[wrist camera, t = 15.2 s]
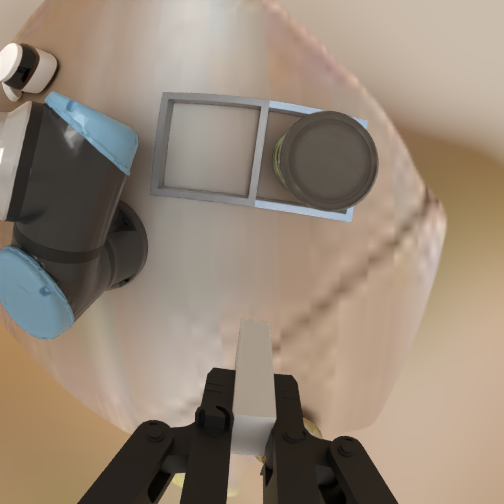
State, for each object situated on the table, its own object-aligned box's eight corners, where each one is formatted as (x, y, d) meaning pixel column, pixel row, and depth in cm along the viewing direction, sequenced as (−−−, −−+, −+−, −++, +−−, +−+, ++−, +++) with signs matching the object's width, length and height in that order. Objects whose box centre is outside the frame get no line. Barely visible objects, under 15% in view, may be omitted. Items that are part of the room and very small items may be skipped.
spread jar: (67, 65, 35) (28, 50, 24) (35, 116, 37) (-7, 114, 26) (40, 44, 32) (4, 30, 21) (11, 91, 35) (-28, 86, 24)
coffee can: (267, 189, 42) (272, 203, 28) (277, 120, 38) (288, 101, 25) (335, 201, 42) (369, 220, 28) (346, 134, 39) (385, 124, 25)
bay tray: (156, 192, 42) (150, 194, 39) (168, 96, 37) (162, 92, 35) (345, 218, 43) (351, 222, 40) (361, 123, 38) (367, 121, 35)
